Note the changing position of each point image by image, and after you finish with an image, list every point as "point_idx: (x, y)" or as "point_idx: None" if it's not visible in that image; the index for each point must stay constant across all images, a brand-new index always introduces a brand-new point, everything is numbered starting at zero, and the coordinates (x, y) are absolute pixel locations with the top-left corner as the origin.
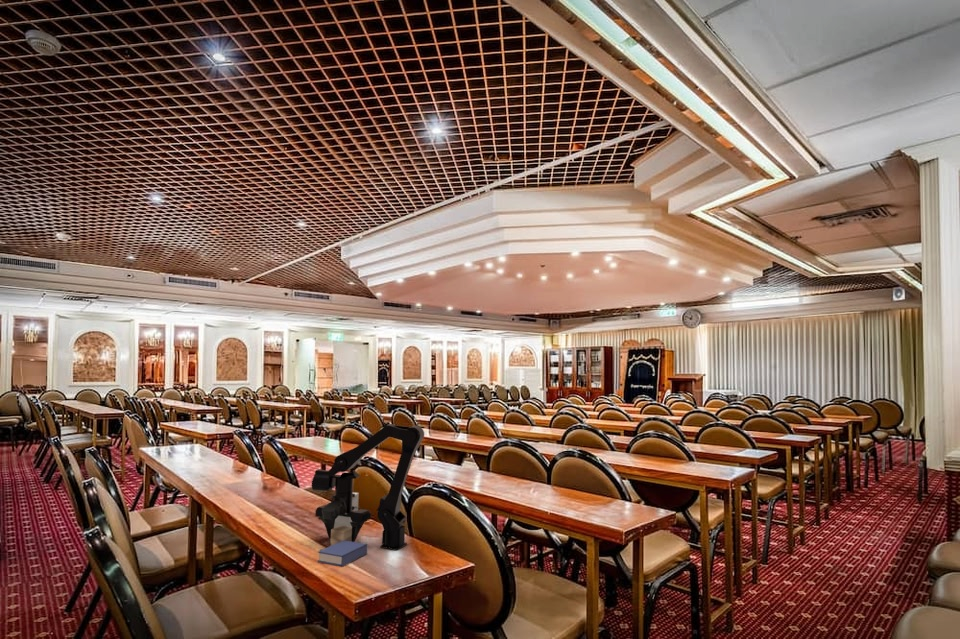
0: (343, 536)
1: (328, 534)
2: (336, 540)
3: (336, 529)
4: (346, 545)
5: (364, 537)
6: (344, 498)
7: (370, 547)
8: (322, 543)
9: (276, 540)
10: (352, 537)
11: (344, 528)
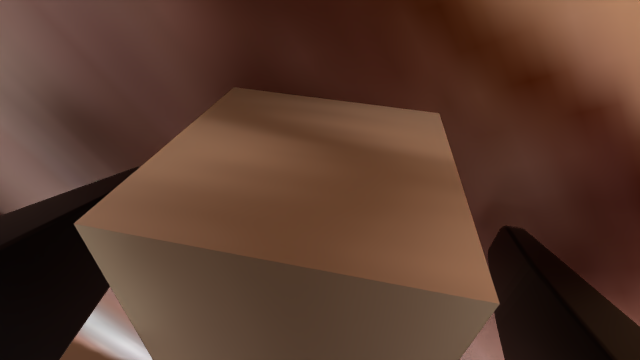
0: (155, 157)
1: (556, 268)
2: (328, 133)
3: (337, 305)
4: None
5: None
6: None
7: (16, 155)
8: (591, 137)
9: None
10: (85, 193)
11: (228, 353)
